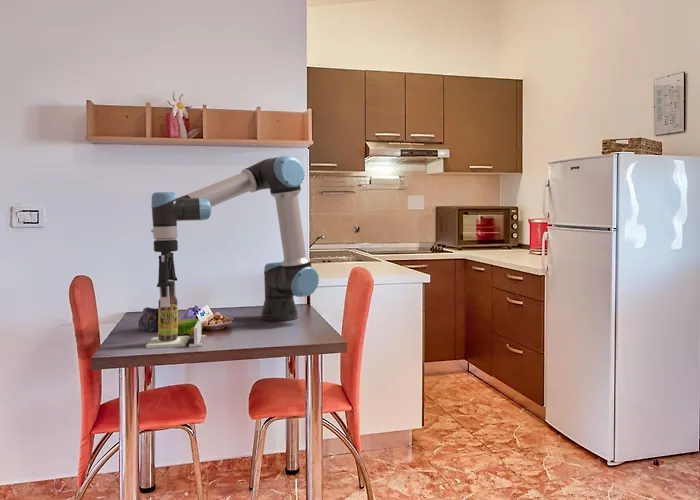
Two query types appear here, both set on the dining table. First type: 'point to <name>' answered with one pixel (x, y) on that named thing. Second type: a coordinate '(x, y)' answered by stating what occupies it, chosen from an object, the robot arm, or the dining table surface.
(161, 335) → the sauce bottle
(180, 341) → the pad
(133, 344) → the dining table surface
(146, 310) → the rock
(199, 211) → the robot arm
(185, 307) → the dining table surface
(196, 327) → the divider
